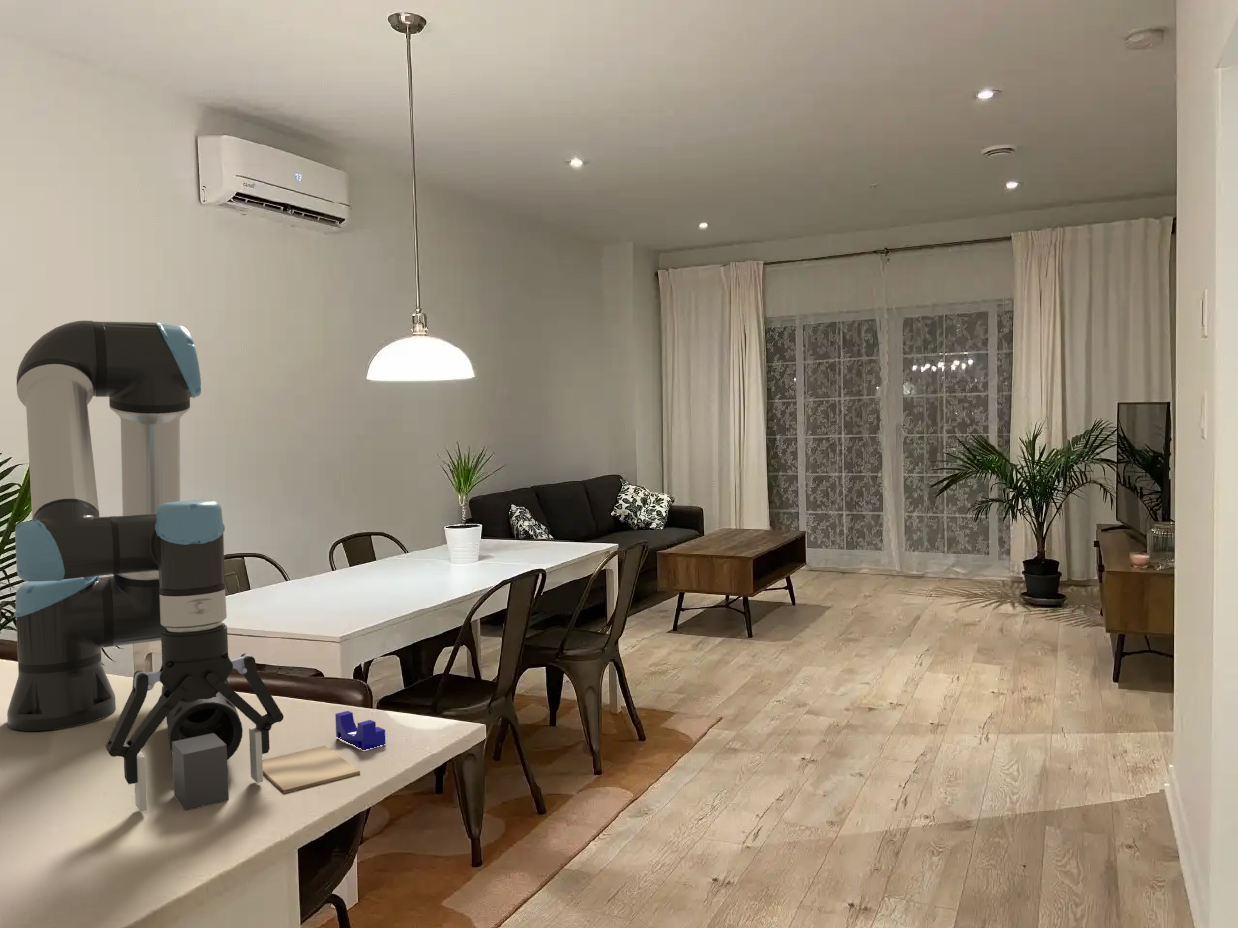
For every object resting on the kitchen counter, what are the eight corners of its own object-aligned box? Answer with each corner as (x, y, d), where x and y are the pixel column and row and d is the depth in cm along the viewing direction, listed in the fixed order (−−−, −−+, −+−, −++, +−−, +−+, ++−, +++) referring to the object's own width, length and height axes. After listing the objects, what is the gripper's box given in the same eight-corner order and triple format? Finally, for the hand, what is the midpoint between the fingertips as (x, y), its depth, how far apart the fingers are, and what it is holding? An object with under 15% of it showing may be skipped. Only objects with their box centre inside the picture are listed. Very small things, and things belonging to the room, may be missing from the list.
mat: (253, 764, 127) (253, 761, 127) (325, 748, 133) (324, 745, 133) (284, 793, 117) (283, 790, 117) (360, 773, 123) (360, 770, 123)
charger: (171, 792, 118) (169, 738, 118) (212, 782, 121) (210, 729, 121) (185, 811, 112) (183, 754, 112) (228, 800, 115) (226, 744, 115)
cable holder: (385, 746, 134) (384, 719, 134) (363, 752, 132) (362, 725, 131) (357, 734, 140) (356, 708, 140) (336, 740, 137) (335, 713, 137)
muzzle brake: (168, 784, 121) (165, 706, 121) (162, 725, 146) (159, 660, 146) (246, 770, 126) (243, 695, 125) (227, 715, 150) (225, 652, 150)
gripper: (84, 646, 105) (92, 830, 106) (304, 615, 120) (310, 776, 121) (74, 635, 111) (82, 810, 111) (285, 607, 126) (291, 760, 127)
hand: (201, 793), depth 116 cm, fingers open, 13 cm apart
